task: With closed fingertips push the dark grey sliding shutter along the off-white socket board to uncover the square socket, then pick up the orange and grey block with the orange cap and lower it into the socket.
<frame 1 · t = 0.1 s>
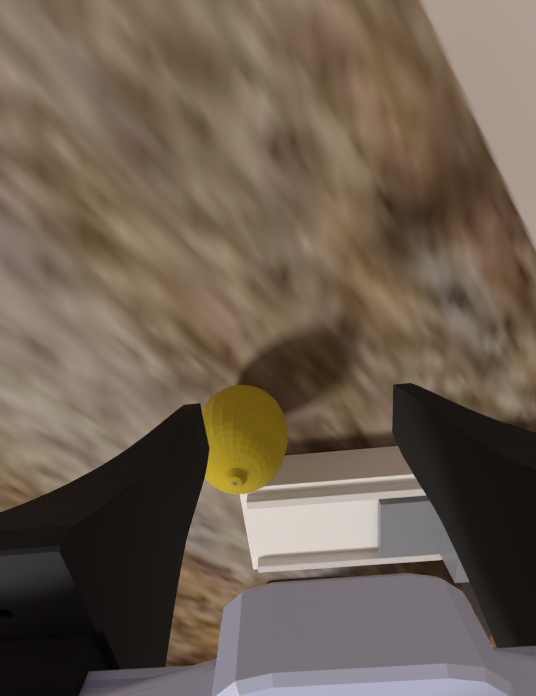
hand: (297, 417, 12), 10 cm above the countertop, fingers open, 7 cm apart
orange and grey block: (474, 559, 29), on the countertop
socket board: (423, 485, 26), on the countertop
shutter: (423, 539, 21), point 5 cm above the countertop, slide at 0.0 cm
lemon: (246, 399, 23), on the countertop
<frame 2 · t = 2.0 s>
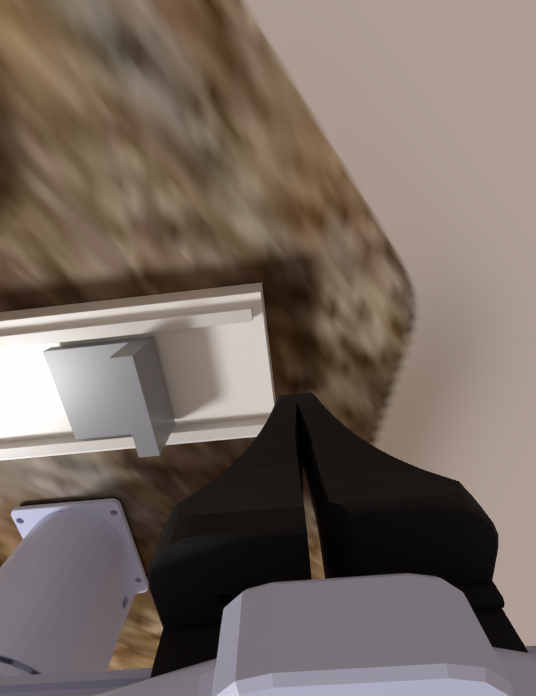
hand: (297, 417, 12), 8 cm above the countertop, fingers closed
socket board: (172, 359, 20), on the countertop
shutter: (103, 399, 15), point 5 cm above the countertop, slide at 0.0 cm
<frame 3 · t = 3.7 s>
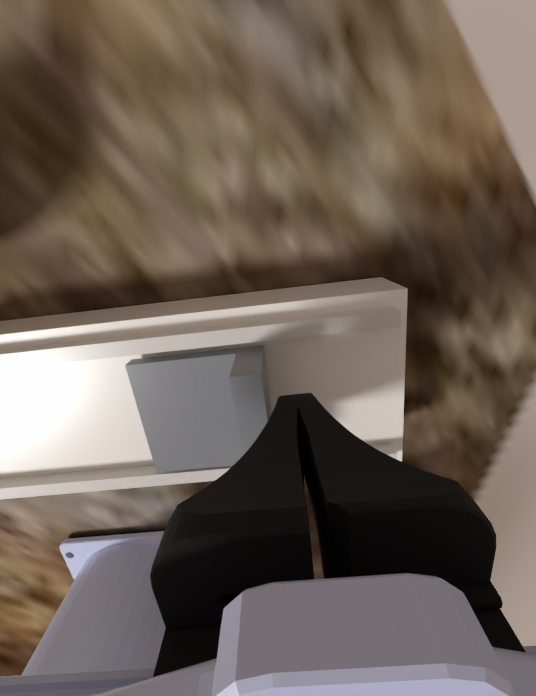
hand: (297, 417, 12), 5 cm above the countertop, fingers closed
socket board: (261, 370, 16), on the countertop
shutter: (202, 426, 12), point 5 cm above the countertop, slide at 0.1 cm, touching gripper
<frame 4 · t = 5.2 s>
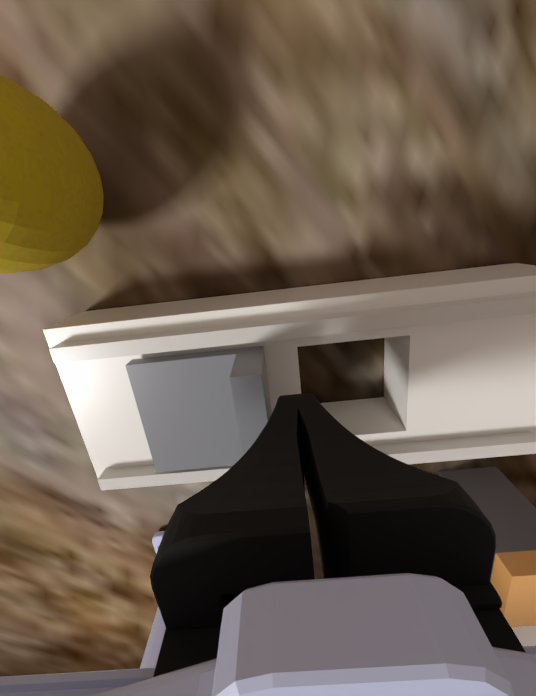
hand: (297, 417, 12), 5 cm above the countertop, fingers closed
orange and grey block: (464, 490, 19), on the countertop
socket board: (380, 358, 16), on the countertop
shutter: (202, 426, 12), point 5 cm above the countertop, slide at 6.1 cm, touching gripper
lemon: (73, 194, 14), on the countertop
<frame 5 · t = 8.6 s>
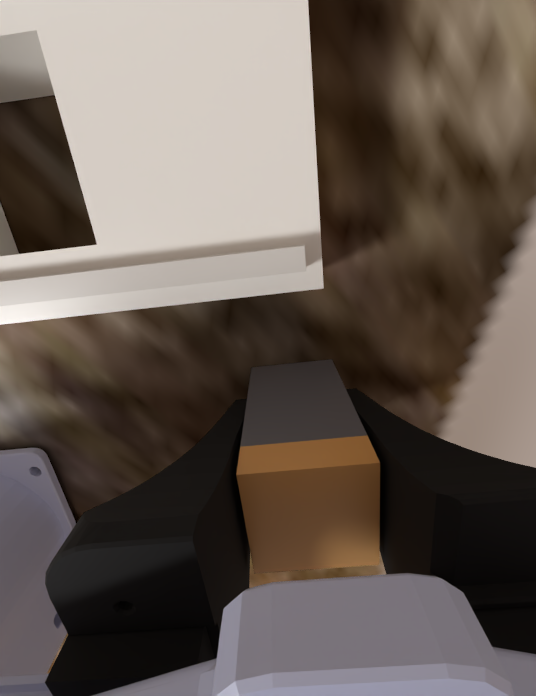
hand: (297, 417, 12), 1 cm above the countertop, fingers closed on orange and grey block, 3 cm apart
orange and grey block: (294, 398, 13), on the countertop, touching gripper
socket board: (117, 170, 10), on the countertop
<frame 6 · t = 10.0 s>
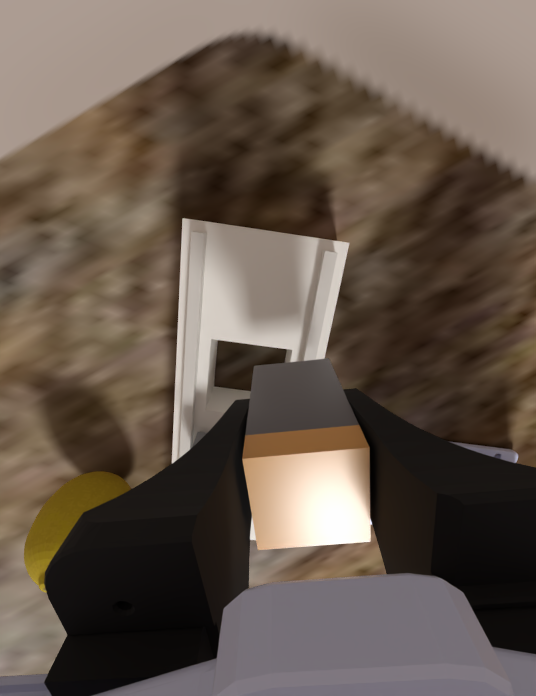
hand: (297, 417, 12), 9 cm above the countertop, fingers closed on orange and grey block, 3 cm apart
orange and grey block: (294, 395, 14), point 7 cm above the countertop, touching gripper
socket board: (254, 331, 20), on the countertop
shutter: (233, 487, 19), point 5 cm above the countertop, slide at 6.1 cm
lemon: (115, 476, 25), on the countertop
when the fingers open (4 cm above the countertop, at t = 11.7 s): orange and grey block drops 1 cm, resting in socket board.
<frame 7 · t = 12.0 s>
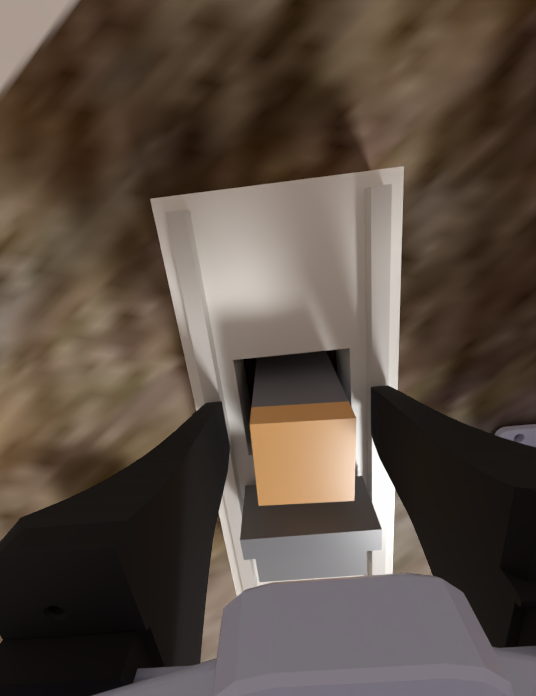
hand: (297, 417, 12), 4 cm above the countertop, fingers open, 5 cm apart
orange and grey block: (292, 380, 16), resting in socket board
socket board: (287, 334, 15), on the countertop
shutter: (310, 552, 13), point 5 cm above the countertop, slide at 6.1 cm
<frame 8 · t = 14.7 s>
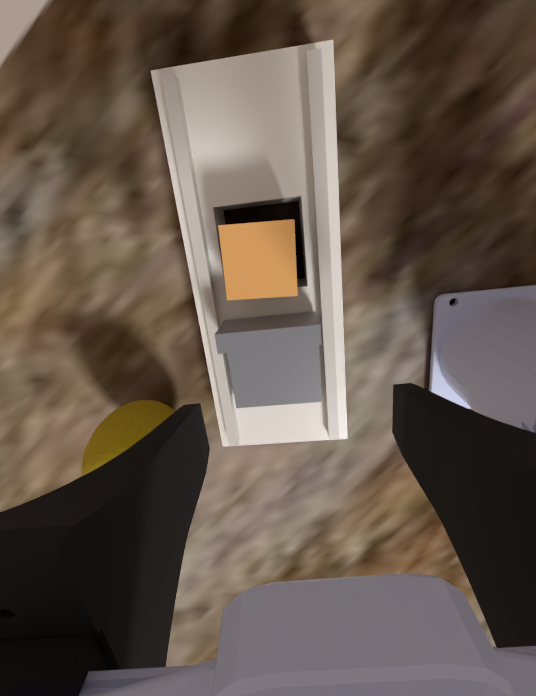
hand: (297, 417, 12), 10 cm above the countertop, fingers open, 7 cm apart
orange and grey block: (266, 252, 20), resting in socket board
socket board: (261, 209, 19), on the countertop
shutter: (273, 369, 17), point 5 cm above the countertop, slide at 6.1 cm
lemon: (162, 412, 24), on the countertop
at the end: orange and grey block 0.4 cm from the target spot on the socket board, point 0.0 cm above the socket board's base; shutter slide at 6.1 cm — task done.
